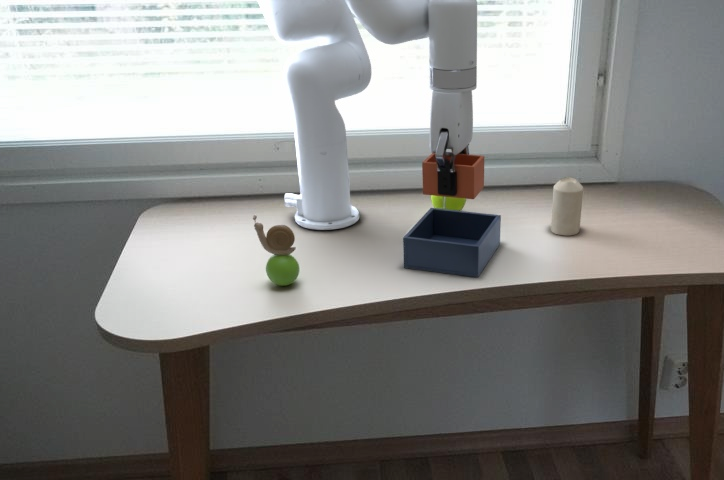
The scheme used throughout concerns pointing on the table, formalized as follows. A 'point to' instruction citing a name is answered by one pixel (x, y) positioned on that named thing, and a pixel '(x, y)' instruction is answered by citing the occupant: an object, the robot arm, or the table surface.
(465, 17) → the robot arm
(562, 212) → the candle
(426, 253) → the big tote
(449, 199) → the tennis ball
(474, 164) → the small tote
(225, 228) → the table surface
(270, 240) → the snail figurine
